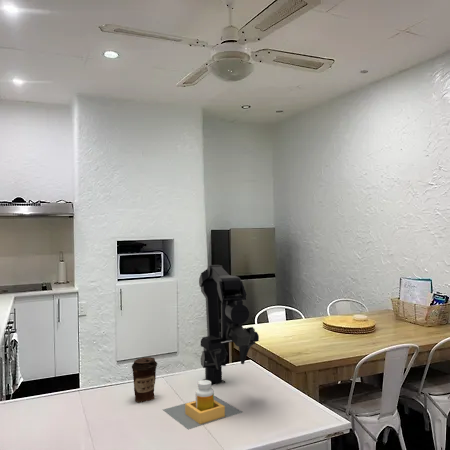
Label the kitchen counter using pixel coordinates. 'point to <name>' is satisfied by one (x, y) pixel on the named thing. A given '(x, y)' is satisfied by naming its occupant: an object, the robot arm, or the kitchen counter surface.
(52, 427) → the kitchen counter surface
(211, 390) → the supplement bottle
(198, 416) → the orange collar
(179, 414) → the slate board
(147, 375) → the coffee cup
